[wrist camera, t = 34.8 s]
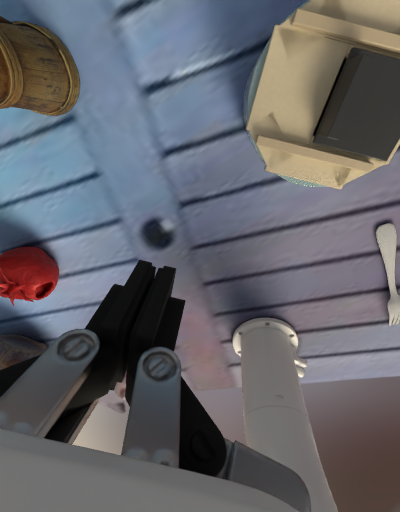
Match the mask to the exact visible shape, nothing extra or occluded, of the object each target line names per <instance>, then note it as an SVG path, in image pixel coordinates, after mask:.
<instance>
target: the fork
mask: <svg viewBox="0 0 400 512" xmlns="http://www.w3.org/2000/svg"><path fill="white" fill-rule="evenodd" d="M376 236H377V241H378V244H379V247H380V251H381V254H382V257H383V260H384V264H385V268H386V272H387V277H388V283H389V289H390V294H391V298H390V300H389V302H388V304H387V306H388V311H389V314H390V320H389V326H390V325H391V323H392V320H393V317H394V321H393V324H392V325H394V323H395V322H396V320H397V317H398V312H399V317H398V320H397V322H396V325H397V323H398V322H399V321H400V296H399V295H398V294H397V291H396V286H395V254H396V238H397V235H396V229H395V226H394V225H393V224H390V223H387V224H384V225H380V226H379V227H378V228H377V230H376ZM394 313H395V316H394ZM399 324H400V323H399Z"/></svg>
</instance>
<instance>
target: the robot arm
mask: <svg viewBox="0 0 400 512" xmlns="http://www.w3.org/2000/svg"><path fill="white" fill-rule="evenodd" d="M155 270H156V267H154V266H152V263H151V262H147V261H143V260H139V262H138V263H137V265H136V267H135V268H134V270H133V272H132V273H131V275H130V277H129V279H128V280H127V282H126V284H125V285H124V286H122V285H117V284H114V285H113V286H112V288H111V289H110V291H109V292H108V294H107V295H106V297H105V298H104V300H103V301H102V303H101V305H100V306H99V308H98V309H97V311H96V312H95V314H94V315H93V317H92V318H91V320H90V321H89V323H88V325H87V326H86V328H85V329H75V330H71V331H68V332H66V333H64V334H62V335H61V336H60V337H59V338H57V339H56V340H55V341H54V343H53V344H52V345H51V346H50V347H49V348H48V349H47V350H46V351H45V352H44V353H43V354H41V355H38V356H36V357H33V358H30V359H28V360H25V361H22V362H20V363H17V364H15V365H12V366H9V367H7V368H4V369H1V370H0V512H338V510H337V507H336V504H335V502H334V499H333V496H332V494H331V491H330V488H329V486H328V483H327V480H326V477H325V474H324V471H323V468H322V465H321V462H320V458H319V455H318V451H317V447H316V444H315V440H314V436H313V432H312V429H311V425H310V421H309V417H308V414H307V409H306V406H305V401H304V397H303V393H302V389H301V385H300V381H299V377H301V378H302V377H303V376H304V374H305V370H304V368H302V367H306V366H307V361H306V360H304V359H302V358H299V357H298V356H297V353H296V349H297V347H298V338H297V334H296V332H295V330H294V329H293V328H292V327H291V326H290V325H289V324H287V323H286V322H284V321H282V320H278V319H275V318H256V319H252V320H249V321H247V322H245V323H243V324H242V325H240V326H239V327H238V328H237V329H236V331H235V332H234V335H233V348H234V350H235V352H236V353H237V354H238V355H239V356H240V357H241V368H242V392H243V415H244V416H243V418H244V435H245V439H246V442H247V445H248V447H247V446H245V445H243V444H242V443H240V442H238V441H235V442H234V443H233V442H231V441H230V440H228V439H225V438H224V437H223V436H222V434H221V432H220V431H219V429H218V428H217V426H216V425H215V424H214V422H213V421H212V419H211V418H210V416H209V415H208V413H207V412H206V411H205V409H204V408H203V406H202V405H201V404H200V402H199V401H198V399H197V398H196V396H195V395H194V394H193V392H192V391H191V389H190V388H189V387H188V385H187V384H186V382H185V381H184V379H183V378H182V377H181V363H180V360H179V358H178V356H177V355H176V354H175V353H174V348H175V344H176V340H177V335H178V331H179V327H180V322H181V318H182V314H183V309H184V305H185V301H186V300H181V299H177V298H173V297H171V293H172V288H173V283H174V278H175V273H176V268H172V267H168V266H164V268H159V269H158V271H157V273H156V276H155ZM154 277H155V278H154ZM296 364H298V365H300V366H302V367H300V366H297V365H296ZM126 372H127V373H126ZM125 374H126V390H125V399H126V401H127V402H128V404H129V406H130V410H129V415H128V420H127V426H126V431H125V437H124V442H123V448H122V453H121V455H116V454H112V453H107V452H103V451H99V450H94V449H90V448H85V447H80V446H76V445H72V444H73V442H74V440H75V439H76V437H77V436H78V434H79V432H80V430H81V429H82V427H83V426H84V424H85V423H86V421H87V419H88V418H89V416H90V414H91V413H92V411H93V410H94V408H95V406H96V405H97V402H98V400H99V398H100V397H102V396H104V395H106V394H108V392H109V390H113V391H114V389H115V386H116V384H117V382H119V383H122V381H123V379H124V377H125Z"/></svg>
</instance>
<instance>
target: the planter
mask: <svg viewBox="0 0 400 512" xmlns="http://www.w3.org/2000/svg"><path fill="white" fill-rule="evenodd" d="M48 348H49V347H48V346H47V344H44V343H41V342H38V341H35V340H32V339H30V338H27V337H24V336H21V335H0V370H1V369H4V368H7V367H9V366H12V365H15V364H17V363H20V362H22V361H25V360H28V359H30V358H33V357H36V356H38V355H41V354H43V353H44V352H45V351H46V350H47V349H48Z"/></svg>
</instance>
